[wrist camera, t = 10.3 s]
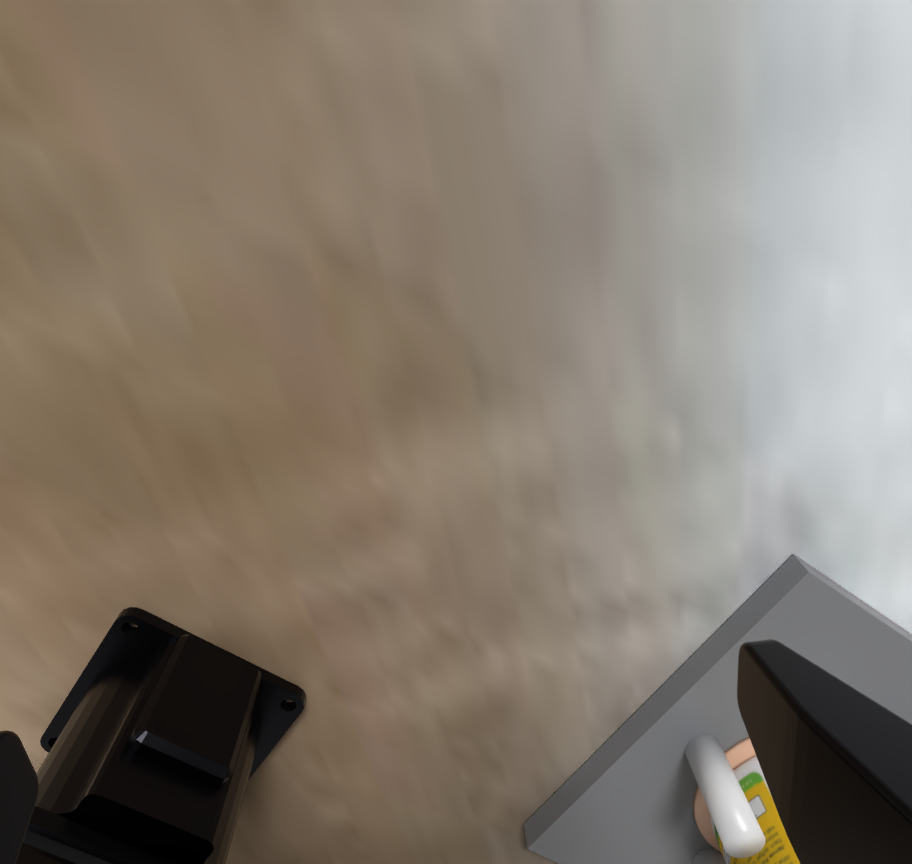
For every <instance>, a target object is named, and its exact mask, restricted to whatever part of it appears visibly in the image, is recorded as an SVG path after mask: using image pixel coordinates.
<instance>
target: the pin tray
mask: <svg viewBox="0 0 912 864" xmlns="http://www.w3.org/2000/svg"><path fill="white" fill-rule="evenodd" d="M767 639H774V640H777V641H779V642H781V643H783V644H784V645H786V646H787V647H789V648H791V649H792V650H794V651H796V652H797V653H799V654H800V655H802V656H804V657H805V658H807V659H808V660H810V661H812V662H813V663H815V664H816V665H818V666H820V667H821V668H823V669H824V670H826V671H828V672H829V673H831V674H833V675H834V676H836V677H837V678H839V679H841V680H842V681H844V682H845V683H847V684H849V685H850V686H852V687H853V688H855V689H857V690H858V691H860V692H861V693H863V694H865V695H866V696H868V697H869V698H871V699H873V700H874V701H876V702H878V703H879V704H881V705H882V706H884V707H886V708H887V709H889V710H890V711H892V712H894V713H895V714H897V715H898V716H900V717H902V718H903V719H905V720H906V721H908V722H910V723H911V724H912V634H910V633H909V632H907V631H906V630H904V629H903V628H901V627H900V626H899V625H897V624H896V623H894V622H893V621H891V620H890V619H888V618H887V617H885V616H884V615H882V614H881V613H879V612H878V611H876V610H875V609H874V608H872V607H871V606H869V605H868V604H866V603H865V602H863V601H862V600H860V599H859V598H857V597H856V596H854V595H853V594H851V593H850V592H848V591H847V590H846V589H844V588H843V587H841V586H840V585H838V584H837V583H835V582H834V581H832V580H831V579H829V578H828V577H826V576H825V575H823V574H822V573H820V572H819V571H818V570H816V569H815V568H813V567H812V566H810V565H809V564H807V563H806V562H804V561H803V560H801V559H800V558H798V557H797V556H795V555H794V554H793V555H792V556H791V557H790V558H789V559H788V560H787V561H786V562H785V563H784V564H783V565H782V566H781V567H780V568H779V569H778V570H777V571H776V572H775V573H774V574H773V575H772V576H771V577H770V578H769V579H768V580H767V581H766V582H765V583H764V584H763V585H762V586H761V587H760V588H759V589H758V590H757V591H756V592H755V593H754V594H753V595H752V596H751V597H750V598H749V599H748V600H747V601H746V602H745V603H744V604H743V605H742V606H741V607H740V608H739V609H738V610H737V611H736V612H735V613H734V614H733V615H732V616H731V617H730V618H729V619H728V620H727V621H726V622H725V623H724V624H723V625H722V626H721V627H720V628H719V629H718V630H717V631H716V632H715V633H714V634H713V635H712V636H711V637H710V638H709V639H708V640H707V641H706V642H705V643H704V644H703V645H702V646H701V647H700V648H699V649H698V650H697V651H696V652H695V653H694V654H693V655H692V656H691V657H690V658H689V659H688V660H687V661H686V662H685V663H684V664H683V665H682V666H681V667H680V668H679V669H678V670H677V671H676V672H675V673H674V674H673V675H672V676H671V677H670V678H669V679H668V680H667V681H666V682H665V683H664V684H663V685H662V686H661V687H660V688H659V689H658V690H657V691H656V692H655V693H654V694H653V695H652V696H651V697H650V698H649V699H648V700H647V701H646V702H645V703H644V704H643V705H642V706H641V707H640V708H639V709H638V710H637V711H636V712H635V713H634V714H633V715H632V716H631V717H630V718H629V719H628V720H627V721H626V722H625V723H624V724H623V725H622V726H621V727H620V728H619V729H618V730H617V731H616V732H615V733H614V734H613V735H612V736H611V737H610V738H609V739H608V740H607V741H606V742H605V743H604V744H603V745H602V746H601V747H600V748H599V749H598V750H597V751H596V752H595V753H594V754H593V755H592V756H591V757H590V758H589V759H588V760H587V761H586V762H585V763H584V764H583V765H582V766H581V767H580V768H579V769H578V770H577V771H576V772H575V773H574V774H573V775H572V776H571V777H570V778H569V779H568V780H567V781H566V782H565V783H564V784H563V785H562V786H561V787H560V788H559V789H558V790H557V791H556V792H555V793H554V794H553V795H552V796H551V797H550V798H549V799H548V800H547V801H546V802H545V803H544V804H543V805H542V806H541V807H540V808H539V809H538V810H537V811H536V812H535V813H534V814H533V815H532V816H531V817H530V818H529V819H528V820H527V821H526V822H525V823H524V830H525V837H526V844H527V849H528V850H530V851H533V852H535V853H537V854H539V855H541V856H543V857H545V858H547V859H549V860H552V861H554V862H556V863H558V864H726V862H725V860H724V857H723V855H722V852H721V850H720V848H719V845H718V842H717V839H716V836H715V834H714V831H713V828H712V823H711V817H712V820H713V822H714V824H715V827H716V829H717V832H718V834H719V837H720V839H721V841H722V844H723V846H724V849H725V851H726V852H727V854H729V855H730V856H732V857H735V858H746V857H750V856H753V855H755V854H757V853H758V852H760V851H761V850H762V848H763V847H764V845H765V841H766V840H765V836H764V834H763V832H762V830H761V828H760V826H759V824H758V822H757V820H756V818H755V815H754V813H753V811H752V809H751V807H750V805H749V803H748V801H747V799H746V797H745V795H744V792H743V790H742V788H741V786H740V784H739V782H738V780H737V778H736V776H735V774H734V772H733V771H734V770H735V769H736V768H737V767H739V766H740V765H741V764H743V763H744V762H746V761H748V760H749V759H751V758H753V757H755V756H756V754H755V751H754V748H753V746H752V743H751V741H750V738H749V735H748V733H747V730H746V727H745V725H744V722H743V719H742V717H741V714H740V710H739V707H738V701H737V678H738V654H739V649H740V646H741V645H742V644H743V643H745V642H750V641H759V640H767Z"/></svg>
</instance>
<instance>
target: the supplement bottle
mask: <svg viewBox="0 0 912 864" xmlns="http://www.w3.org/2000/svg"><path fill="white" fill-rule="evenodd" d="M733 772H734V774H735V776H736V778H737V780H738V782H739V784H740V786H741V788H742V790H743V792H744V795H745V797H746V799H747V801H748V803H749V805H750V807H751V809H752V811H753V813H754V815H755V818H756V820H757V822H758V824H759V826H760V828H761V830H762V832H763V834H764V836H765V840H766V841H765V845H764V847H763V848H762V850H761V851H760V852H758V853H757V854H755V855H753V856H750V857H746V858H735V857H732V856H730V855H729V854H727V852H726V851H725V849H724V846H723V844H722V841H721V839H720V837H719V834H718V832H717V829H716V827H715V824H714V822H713V820H712V817H711V823H712V828H713V831H714V834H715V836H716V839H717V842H718V845H719V848H720V850H721V852H722V855H723V857H724V860H725V862H726V864H800V862H799V860H798V858H797V856H796V854H795V852H794V849H793V847H792V845H791V843H790V841H789V839H788V837H787V834H786V832H785V829H784V827H783V824H782V822H781V819H780V817H779V814H778V812H777V809H776V806H775V804H774V801H773V799H772V796H771V793H770V791H769V788H768V785H767V783H766V780H765V777H764V775H763V772H762V770H761V767H760V764H759V762H758V759H757V756H755V757H753V758H751V759H749V760H748V761H746V762H744V763H743V764H741V765H740V766H739V767H737V768H736V769H735V770H734V771H733Z"/></svg>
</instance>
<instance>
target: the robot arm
mask: <svg viewBox="0 0 912 864" xmlns="http://www.w3.org/2000/svg"><path fill="white" fill-rule="evenodd" d="M128 622H132V623H135V624H136V625H137V626H138V627H132V626H130V625H129V624H128ZM286 699H290V700H293V701H294V702H291V703H290V702H286V701H285V700H286ZM305 700H306V695H305V693H304V691H303V689H301V688H300V687H298V686H296V685H294V684H292V683H290V682H288V681H286V680H284V679H282V678H280V677H278V676H276V675H274V674H272V673H270V672H268V671H266V670H264V669H262V668H260V667H258V666H256V665H254V664H252V663H250V662H248V661H246V660H244V659H242V658H240V657H238V656H236V655H234V654H232V653H230V652H228V651H226V650H224V649H221V648H219V647H217V646H215V645H213V644H211V643H209V642H207V641H205V640H203V639H201V638H199V637H197V636H195V635H193V634H191V633H189V632H187V631H185V630H183V629H181V628H179V627H177V626H175V625H173V624H171V623H169V622H167V621H165V620H163V619H161V618H159V617H157V616H155V615H153V614H151V613H149V612H147V611H144V610H142V609H139V608H136V607H130V608H127V609H124V610H123V611H122V612H121V613H120V614H119V616H118V617H117V619H116V621H115V622H114V624H113V625H112V627H111V628H110V630H109V632H108V633H107V635H106V636H105V638H104V639H103V641H102V643H101V644H100V646H99V647H98V649H97V651H96V652H95V654H94V655H93V657H92V658H91V660H90V662H89V663H88V665H87V666H86V668H85V669H84V671H83V673H82V674H81V676H80V677H79V679H78V681H77V682H76V684H75V685H74V687H73V688H72V690H71V692H70V693H69V695H68V696H67V698H66V699H65V701H64V703H63V704H62V706H61V707H60V709H59V711H58V712H57V714H56V715H55V717H54V718H53V720H52V722H51V723H50V725H49V726H48V728H47V729H46V731H45V733H44V734H43V736H42V737H41V741H40V742H41V746H42V747H43V748H44V750H45V751H47V752H49V754H48V755H47V757H46V758H45V760H44V762H43V763H42V765H41V767H40V768H39V770H38V772H37V773H36V772H35V770H34V768H33V766H32V764H31V762H30V759H29V757H28V755H27V753H26V751H25V749H24V747H23V745H22V742H21V740H20V738H19V737H18V735H16V734H15V733H14V732H12V731H0V864H225V862H226V859H227V855H228V851H229V848H230V844H231V841H232V837H233V833H234V830H235V826H236V822H237V819H238V815H239V811H240V808H241V804H242V801H243V797H244V793H245V790H246V786H247V782H248V780H249V778H250V777H251V776H252V775H253V773H254V772H255V771H256V769H257V768H258V767H259V766H260V764H261V763H262V762H263V761H264V759H265V758H266V757H267V755H268V754H269V753H270V752H271V750H272V749H273V748H274V747H275V745H276V744H277V743H278V741H279V740H280V739H281V738H282V736H283V735H284V734H285V733H286V731H287V730H288V729H289V728H290V726H291V725H292V724H293V722H294V721H295V720H296V719H297V717H298V716H299V715H300V714H301V712H302V710H303V708H304V704H305ZM737 701H738V707H739V710H740V714H741V717H742V719H743V722H744V725H745V727H746V730H747V733H748V735H749V738H750V741H751V743H752V746H753V748H754V751H755V754H756V756H757V759H758V762H759V764H760V767H761V770H762V772H763V775H764V777H765V780H766V783H767V785H768V788H769V791H770V793H771V796H772V799H773V801H774V804H775V806H776V809H777V812H778V814H779V817H780V819H781V822H782V824H783V827H784V829H785V832H786V834H787V837H788V839H789V841H790V843H791V845H792V847H793V849H794V852H795V854H796V856H797V858H798V860H799V862H800V864H912V724H911V723H910V722H908V721H906V720H905V719H903V718H902V717H900V716H898V715H897V714H895V713H894V712H892V711H890V710H889V709H887V708H886V707H884V706H882V705H881V704H879V703H878V702H876V701H874V700H873V699H871V698H869V697H868V696H866V695H865V694H863V693H861V692H860V691H858V690H857V689H855V688H853V687H852V686H850V685H849V684H847V683H845V682H844V681H842V680H841V679H839V678H837V677H836V676H834V675H833V674H831V673H829V672H828V671H826V670H824V669H823V668H821V667H820V666H818V665H816V664H815V663H813V662H812V661H810V660H808V659H807V658H805V657H804V656H802V655H800V654H799V653H797V652H796V651H794V650H792V649H791V648H789V647H787V646H786V645H784V644H783V643H781V642H779V641H777V640H774V639H767V640H759V641H750V642H745V643H743V644H742V645H741V646H740V649H739V654H738V678H737Z"/></svg>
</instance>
